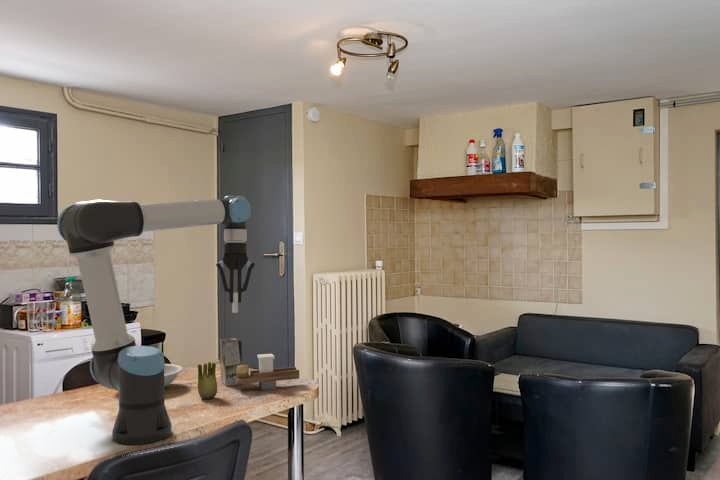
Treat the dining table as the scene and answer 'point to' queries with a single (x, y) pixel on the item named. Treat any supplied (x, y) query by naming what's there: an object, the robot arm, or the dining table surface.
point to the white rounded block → (265, 362)
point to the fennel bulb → (207, 381)
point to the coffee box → (230, 359)
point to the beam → (265, 376)
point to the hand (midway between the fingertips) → (235, 312)
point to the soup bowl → (171, 373)
